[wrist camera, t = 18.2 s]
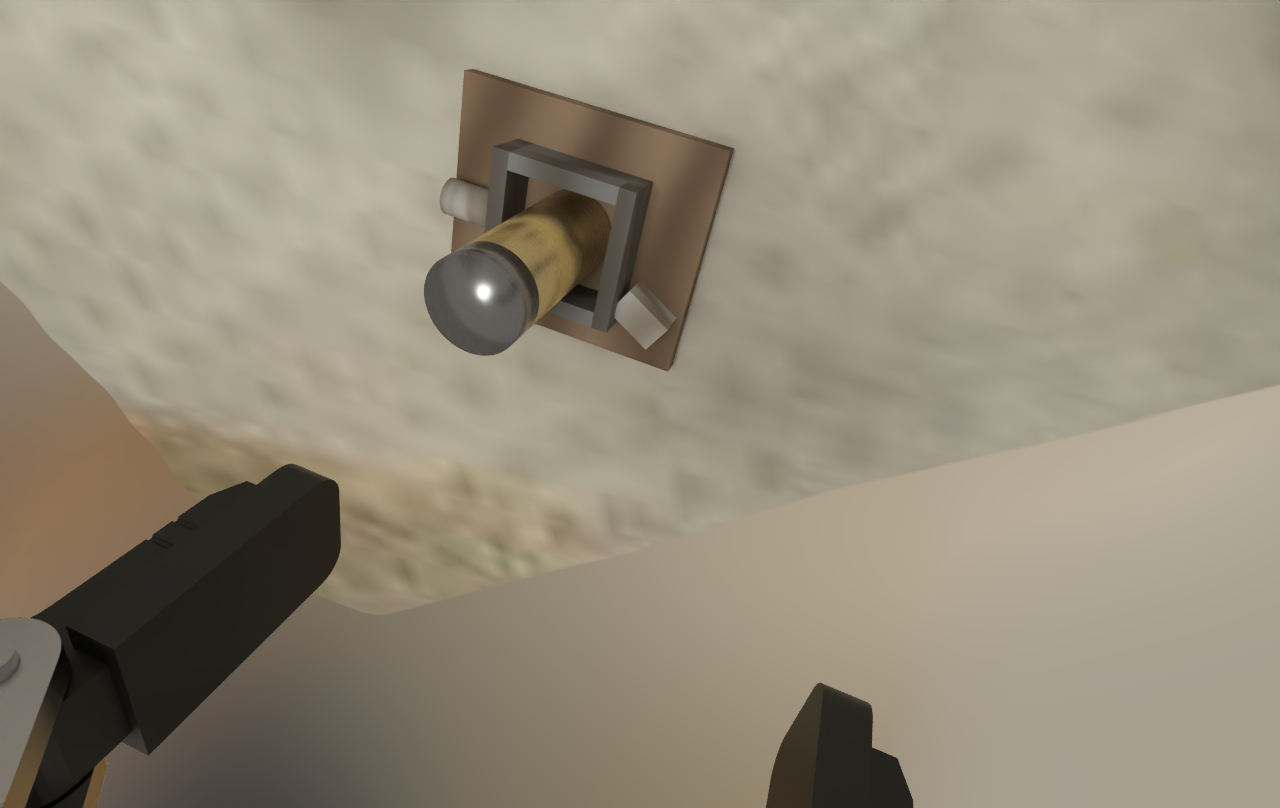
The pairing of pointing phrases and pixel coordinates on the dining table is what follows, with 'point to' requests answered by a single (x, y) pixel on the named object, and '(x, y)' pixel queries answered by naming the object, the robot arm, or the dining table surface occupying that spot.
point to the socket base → (617, 180)
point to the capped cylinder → (516, 272)
